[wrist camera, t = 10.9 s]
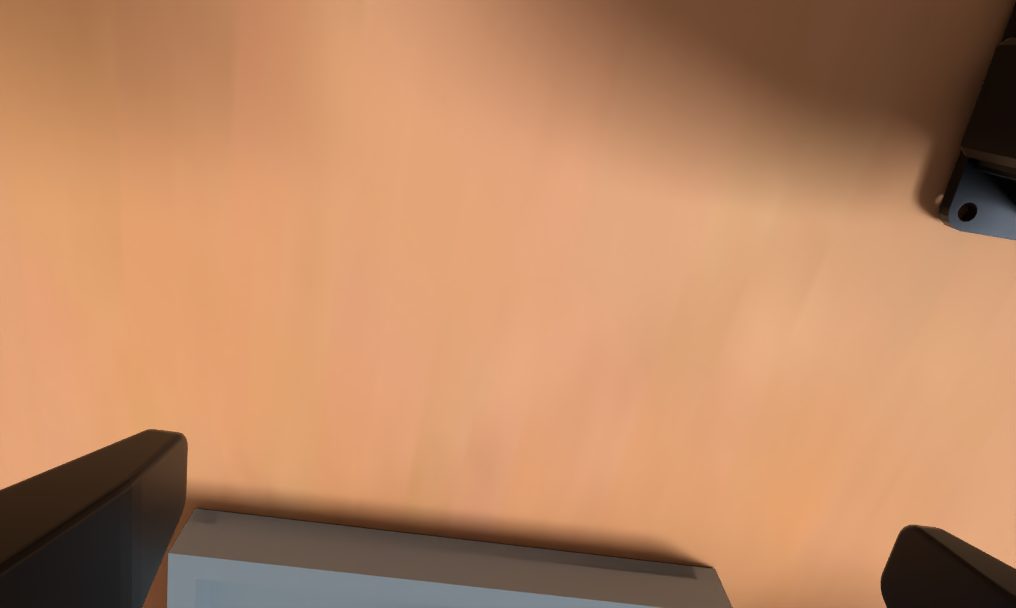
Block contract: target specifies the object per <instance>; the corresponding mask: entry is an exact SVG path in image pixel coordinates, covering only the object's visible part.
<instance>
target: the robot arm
mask: <svg viewBox="0 0 1016 608" xmlns="http://www.w3.org/2000/svg"><path fill="white" fill-rule="evenodd" d="M961 147H962V149H961V152H960V154H959V157H958V160H957V162H956V165H955V168H954V170H953V173H952V176H951V178H950V181H949V184H948V186H947V189H946V192H945V195H944V197H943V200H942V203H941V205H940V210H939V215H940V219H941V221H942V222H943V223H944V224H945V225H947V226H949V227H952V228H954V229H957V230H959V231H964V232H970V233H976V234H982V235H988V236H994V237H1000V238H1006V239H1012V240H1016V4H1015V6H1014V9H1013V12H1012V14H1011V17H1010V20H1009V22H1008V25H1007V28H1006V30H1005V33H1004V36H1003V39H1002V41H1001V44H1000V45H999V46H998V47H997V48H996V50H995V53H994V56H993V59H992V61H991V64H990V67H989V69H988V72H987V75H986V77H985V80H984V83H983V85H982V88H981V91H980V94H979V96H978V99H977V102H976V104H975V107H974V110H973V112H972V115H971V118H970V121H969V123H968V126H967V129H966V131H965V134H964V137H963V139H962V142H961ZM965 203H967V205H968V208H967V211H966V213H965V214H964V215H963V216H962V217H960V218H959V217H958V210H959V209H960V207H961V206H962V205H964V204H965ZM187 453H188V444H187V439H186V437H185V436H184V435H183V434H182V433H179V432H171V431H164V430H156V429H148V430H145V431H143V432H140V433H138V434H136V435H133V436H131V437H128V438H126V439H123V440H121V441H119V442H116V443H114V444H111V445H109V446H106V447H104V448H102V449H99V450H97V451H94V452H92V453H89V454H87V455H85V456H82V457H80V458H77V459H75V460H72V461H70V462H68V463H65V464H63V465H60V466H58V467H55V468H53V469H51V470H48V471H46V472H43V473H41V474H38V475H36V476H33V477H31V478H29V479H26V480H24V481H21V482H19V483H16V484H14V485H12V486H9V487H7V488H4V489H2V490H0V608H142V606H143V603H144V601H145V599H146V596H147V594H148V592H149V589H150V587H151V585H152V582H153V580H154V578H155V575H156V573H157V571H158V568H159V566H160V564H161V561H162V559H163V557H164V554H165V552H166V550H167V547H168V545H169V543H170V540H171V538H172V535H173V533H174V531H175V528H176V526H177V524H178V521H179V519H180V517H181V514H182V511H183V508H184V504H185V499H186V486H187ZM881 592H882V596H883V599H884V601H885V604H886V606H887V608H1016V569H1015V568H1013V567H1011V566H1009V565H1007V564H1005V563H1004V562H1002V561H1000V560H998V559H996V558H994V557H992V556H991V555H989V554H987V553H985V552H983V551H981V550H980V549H978V548H976V547H974V546H972V545H970V544H968V543H967V542H965V541H963V540H961V539H959V538H957V537H955V536H954V535H952V534H950V533H948V532H946V531H944V530H942V529H940V528H936V527H928V526H920V525H908V526H906V527H904V528H903V529H902V530H901V531H900V533H899V535H898V537H897V539H896V542H895V544H894V547H893V549H892V551H891V554H890V556H889V559H888V561H887V563H886V566H885V568H884V571H883V573H882V576H881Z"/></svg>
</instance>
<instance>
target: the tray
mask: <svg viewBox="0 0 1016 608" xmlns="http://www.w3.org/2000/svg"><path fill="white" fill-rule="evenodd" d="M167 608H732V606H731V603H730V601H729V599H728V597H727V594H726V592H725V590H724V588H723V586H722V583H721V581H720V579H719V577H718V574H717V572H716V570H715V569H712V568H704V567H695V566H686V565H678V564H669V563H661V562H652V561H643V560H635V559H626V558H617V557H609V556H600V555H592V554H583V553H574V552H566V551H557V550H549V549H540V548H531V547H523V546H514V545H506V544H497V543H488V542H480V541H471V540H462V539H454V538H445V537H437V536H428V535H419V534H411V533H402V532H394V531H385V530H376V529H368V528H359V527H350V526H342V525H333V524H325V523H316V522H307V521H299V520H290V519H282V518H273V517H264V516H256V515H247V514H239V513H230V512H221V511H213V510H204V509H194V511H193V513H192V514H191V516H190V518H189V519H188V521H187V523H186V524H185V526H184V528H183V529H182V531H181V533H180V534H179V536H178V538H177V539H176V541H175V543H174V544H173V546H172V548H171V549H170V551H169V552H168V585H167Z"/></svg>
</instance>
